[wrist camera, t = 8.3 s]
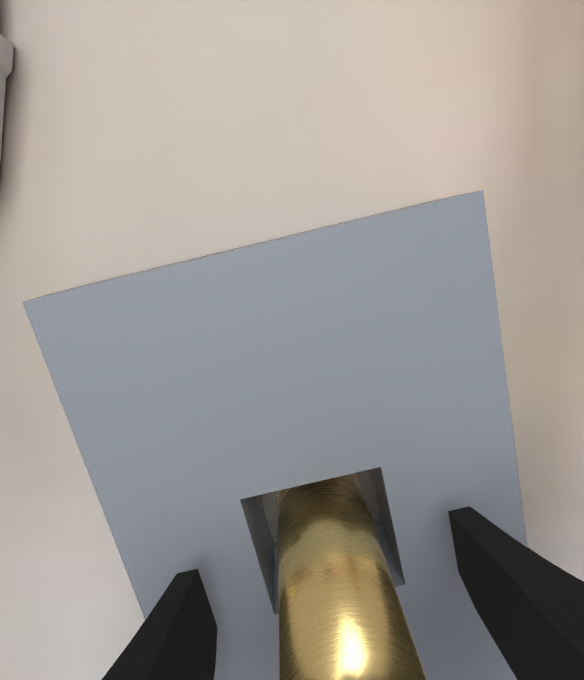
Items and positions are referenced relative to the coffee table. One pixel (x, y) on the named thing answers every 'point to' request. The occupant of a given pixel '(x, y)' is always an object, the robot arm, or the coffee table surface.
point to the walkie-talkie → (4, 75)
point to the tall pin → (337, 590)
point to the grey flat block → (298, 414)
